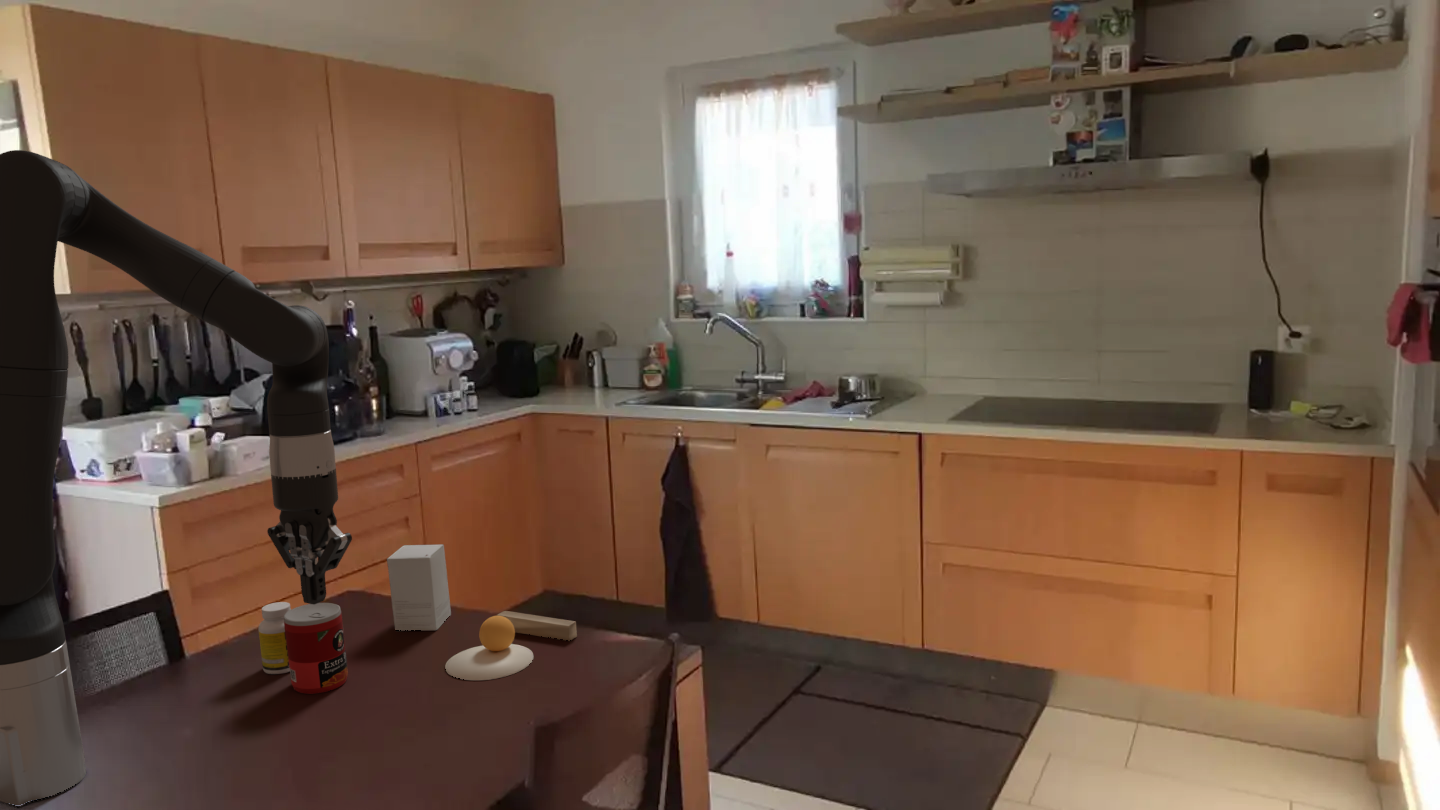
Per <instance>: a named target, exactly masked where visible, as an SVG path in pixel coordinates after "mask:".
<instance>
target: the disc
mask: <svg viewBox="0 0 1440 810" xmlns="http://www.w3.org/2000/svg"><path fill="white" fill-rule="evenodd" d="M532 660H533V661H534V653H533V651H532V650H531V649H530V648H528V647H526V646H523V645H519V644H514V643H511V645H510V646H509V647H508V648H506V649H504V650H502V651H491V650H488V649H487V648H485V647H484V646H483V645H482V644H481V645H479V646H474V647H470V648H467V649H464V650H462V651H460V652H457V654H454V655H453V656H451V657H450V658H449V659H448V660H447V661H446V663H445V666H444V667H445V669H446V670H445V672H446V673H447V674H448V675H449V676H450V677H452V676H453V678H455V677H456V679H458V678H460V680H463V679H464V681H490V680H496V679H499V678H505V677H508V676H511V675H514V674H516V673H519V672H520V671H523V670H524V669H526V668H527V667H529V666H530V665H531V664H530V663H532V662H533V661H532ZM529 664H530V665H529Z"/></svg>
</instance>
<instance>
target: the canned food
mask: <svg viewBox="0 0 1440 810" xmlns="http://www.w3.org/2000/svg"><path fill="white" fill-rule="evenodd" d="M284 628H285V636H286V644H287V652H288V660H289V668H290V672H289V674H290V682H291V686H292V687H293V690H294V691H296V692H297V693H300V694H306V695H307V694H308V695H314V694H322V693H327V692H331V691H333V690H336V689H338V688H339V687H342V686H343V685H344V684H345V683H346V682H347V679H348V676H349V672H348V671H349V670H348V661H347V660H348V659H347V651H346V641H345V632H344V623H343V614H342V610H341V606H340V605H338V604H336V603H331V602H320V603H317V604H308V603H306V604H303V605H300V606H297V607H294V608H291V610H289V611H288V612H286V613H285V615H284ZM330 690H331V691H330Z"/></svg>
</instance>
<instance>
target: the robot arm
mask: <svg viewBox="0 0 1440 810" xmlns="http://www.w3.org/2000/svg"><path fill="white" fill-rule="evenodd" d="M58 242H59V243H62V244H65V245H68V246H71V247H73V248H76V249H78V250H81V251H84V252H86V253H89V254H91V255H92V256H93V255H94V256H95V257H97V258H100V259H102V260H104V261H106V262H107V263H109V264H111V265H113V266H115V267H116V268H118V269H120V270H121V271H123V273H126V274H128V275H129V276H130V277H132V278H133V279H134V280H136V281H138V282H139V283H140V284H142V285H143V286H144V287H146V288H147V289H148V290H150V291H152V292H153V293H154V294H156V295H157V296H159V297H161V298H163V300H165V301H167V302H168V303H170V304H172V305H174V306H176V307H177V308H179V309H181V310H183V311H185V312H187V313H189V314H190V315H192V316H193V317H196V318H198V319H199V320H201V321H204V322H205V323H207V324H209V325H211V326H213V327H216V328H218V329H219V330H221V331H222V332H224V333H225V334H226V335H227V336H228V337H230V338H232V339H233V340H234V341H235V342H237V343H238V344H240V346H243V347H244V348H245V349H247V350H248V351H250V352H251V353H252V354H254V355H256V356H258V357H259V358H261V359H263V360H265V361H267V362H268V363H271V364H272V367H271V368H272V385H271V388H270V390H269V391H268V394H267V402H266V406H267V418H268V419H267V420H268V432H269V445H268V447H269V448H268V457H269V466H270V467H269V469H270V478H271V479H270V481H271V490H272V501H273V502H272V503H273V506H274V508H276V509H277V510H279V511H280V513H279V516H278V518H279V522H278V523H277V524H276V525H274V526H271V527H268V528H267V531H266V532H267V535H268V536H269V538H270V541H271V542H272V543H273V545H274V547H275V548H276V550H277V551H278V554H279V555H280V557H281V559H282V561H283V562H284V563H285V565H286V567H287V568H288V569H294V570H296V573H297V574H298V576H299V577H300V578H299V580H300V588H301V589H300V591H301V595H302V596H301V597H302V599H303V602H304V604H317V603H323V602H324V601H325V599H326V597H327V586H326V572H327V571H331V570H334V569H337V568H338V566H339V564H340V562H341V560H342V559H343V557H344V555H345V553H346V551H347V550H348V548H349V546H350V544H351V542H352V540H353V536H352V534H351V533H350V532H345V533H343V532H342V531H341V529H339V527H338V526H337V524H338V520H337V517H336V515H335V512H334V506H335V504H336V503H337V502H338V500H339V489H338V479H337V477H338V476H337V467H336V466H337V465H336V453H335V446H334V445H335V444H334V441H333V440H334V439H333V437H332V430H331V419H330V418H331V417H330V406H329V400H328V398H329V397H328V377H329V375H328V374H329V362H330V361H329V360H330V359H329V358H330V356H329V355H330V354H329V353H330V351H329V349H330V346H329V345H330V344H329V334H328V330H327V325H326V324H325V321H324V319H323V318H322V316H321V315H320V314H319V313H317V311H315V310H314V309H312V308H311V307H308V306H305V305H289V306H288V305H286V304H284V303H282V302H281V301H278V300H277V299H275V298H273V297H271V296H269V295H268V294H266V293H264V292H263V291H261V290H259V289H257V288H256V285H255V283H254V282H253V281H252V280H250V279H249V278H247V277H246V276H245V275H244V274H242V273H240V272H238V271H236V270H234V269H233V268H231V267H229V266H227V265H226V264H223V263H222V262H220V261H218V260H216V259H215V258H213V257H211V256H209V255H207V254H205V253H203V252H202V251H200V250H197V249H196V248H194V247H192V246H190V245H188V244H186V243H183V242H182V241H180V240H179V239H178V240H177V239H176V238H174V237H172V236H170V235H168V234H166V233H164V232H162V231H160V230H158V229H156V228H154V227H152V226H150V225H149V224H147V223H146V222H144V221H143V220H140V219H139V218H137V217H136V216H134V215H132V214H131V213H129V211H126V210H125V209H123V208H122V207H121V206H119V205H118V204H116V203H114V202H113V200H110V198H108V197H107V196H105V195H104V194H103V193H101V192H100V191H99V190H98V189H96V188H95V187H94V186H93V185H91V184H90V183H89V182H87V180H85V179H84V178H82V176H80V175H79V174H78V173H77V172H76V171H75V170H73V169H72V168H71V167H70V166H68V165H66V164H64V163H62V162H60V161H58V160H55V159H53V158H49V157H47V156H44V155H42V154H39V153H37V152H33V151H28V150H23V149H22V150H20V149H17V150H15V149H14V150H8V151H4V152H2V153H0V802H2V803H5V804H7V803H10V804H14V805H21V804H24V803H26V802H28V801H31V800H36V799H41V798H45V797H48V796H51V795H54V796H56V795H58V794H57V793H59V792H61V793H63V792H65V791H67V790H69V789H71V788H73V787H74V786H75V784H76V785H78V783H80V782H81V781H82V780H83V779H84V778H85V776H86V774H87V768H86V761H85V760H86V759H85V752H84V748H83V741H82V736H81V729H80V721H79V716H78V709H77V704H76V703H77V702H76V696H75V691H74V690H75V689H74V686H73V685H74V684H73V678H72V670H71V664H70V658H69V652H68V644H67V640H66V639H67V638H66V633H65V627H64V622H63V617H62V614H61V610H60V608H59V604H58V600H57V595H56V591H55V584H54V579H53V572H54V569H55V566H56V561H57V559H56V557H57V556H56V544H55V528H54V527H55V526H54V501H53V500H54V499H53V498H54V480H55V479H54V478H55V473H56V466H57V461H58V456H59V450H60V443H61V436H62V430H63V424H64V423H63V422H64V415H65V407H66V400H67V388H68V376H69V348H68V341H67V335H66V332H65V327H64V323H63V319H62V314H61V311H60V308H59V303H58V299H57V296H56V289H55V288H56V287H55V265H56V264H55V263H56V257H57V248H58ZM72 786H73V787H72ZM70 787H71V788H70ZM68 788H69V789H68ZM66 789H67V790H66ZM64 790H65V791H64ZM55 794H56V795H55ZM59 794H60V793H59ZM51 797H52V796H51ZM48 798H49V797H48ZM45 799H46V798H45ZM41 800H42V799H41ZM10 804H9V805H10ZM24 805H25V804H24Z"/></svg>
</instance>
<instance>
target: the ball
mask: <svg viewBox="0 0 1440 810" xmlns="http://www.w3.org/2000/svg"><path fill="white" fill-rule="evenodd" d="M478 636H479V641H480V643H481V646H482V645H483V646H484V647H485V648H487V649H488V650H491V651H502V650H504V649H506V648H508V647H509V646H510V645H511V644H513V642H514V640H515V636H516V632H515V629H514V626H513V624H512V622H511V621H510V620H509V619H507V618H506V617H503V616H497V615H493V616H490V617H488V618H487V619H486V620H485V621H483V623H482V624H481V626H480V628H479V633H478Z"/></svg>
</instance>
